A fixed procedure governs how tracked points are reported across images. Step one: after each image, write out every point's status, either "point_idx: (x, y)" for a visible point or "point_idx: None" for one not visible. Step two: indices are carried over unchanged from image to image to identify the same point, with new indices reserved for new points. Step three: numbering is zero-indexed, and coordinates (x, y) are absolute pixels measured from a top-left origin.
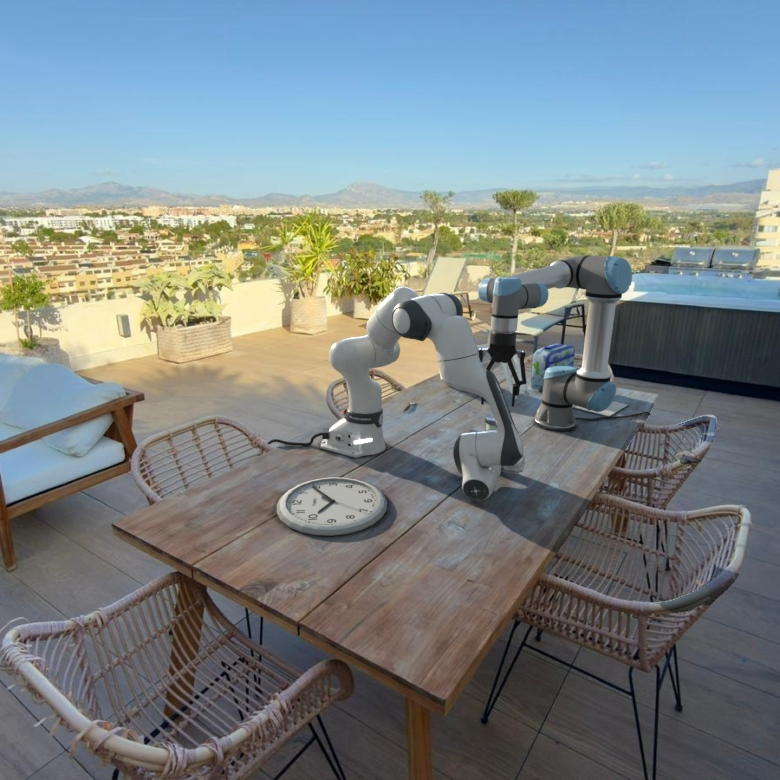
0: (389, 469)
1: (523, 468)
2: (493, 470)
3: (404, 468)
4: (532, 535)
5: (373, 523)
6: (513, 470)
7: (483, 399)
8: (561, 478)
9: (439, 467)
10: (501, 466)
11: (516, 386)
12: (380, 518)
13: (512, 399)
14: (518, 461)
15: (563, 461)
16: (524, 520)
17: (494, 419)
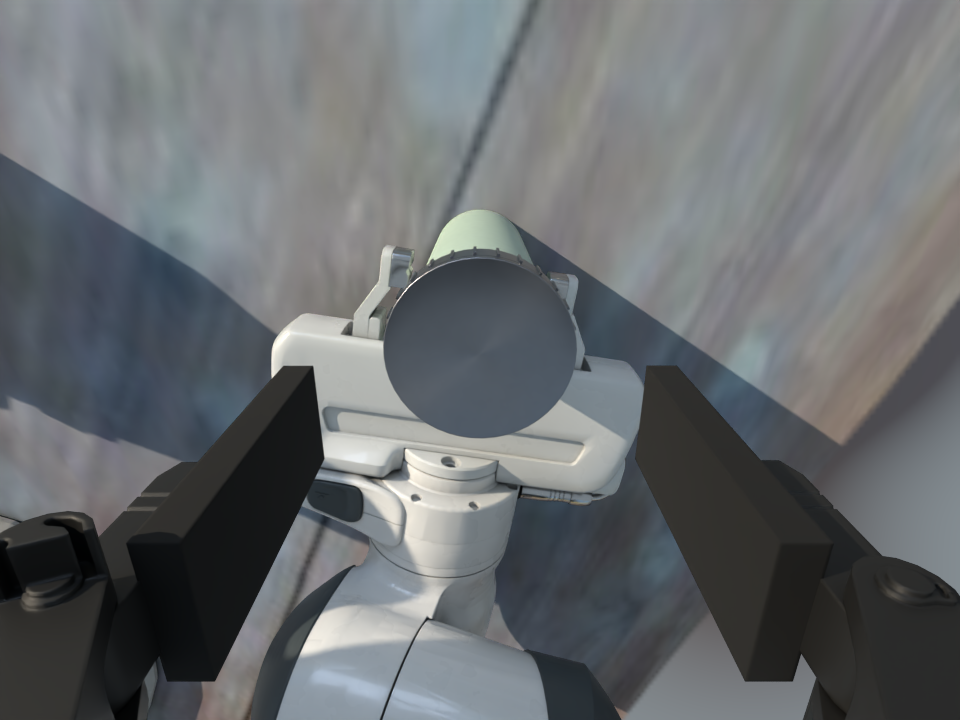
0: (14, 371)
1: (623, 472)
2: (476, 629)
3: (73, 347)
4: (595, 670)
5: (148, 709)
6: (572, 504)
7: (300, 497)
8: (805, 290)
9: (225, 301)
10: (517, 498)
11: (807, 639)
12: (155, 683)
13: (666, 514)
14: (604, 476)
15: (895, 62)
16: (582, 612)
17: (463, 406)
